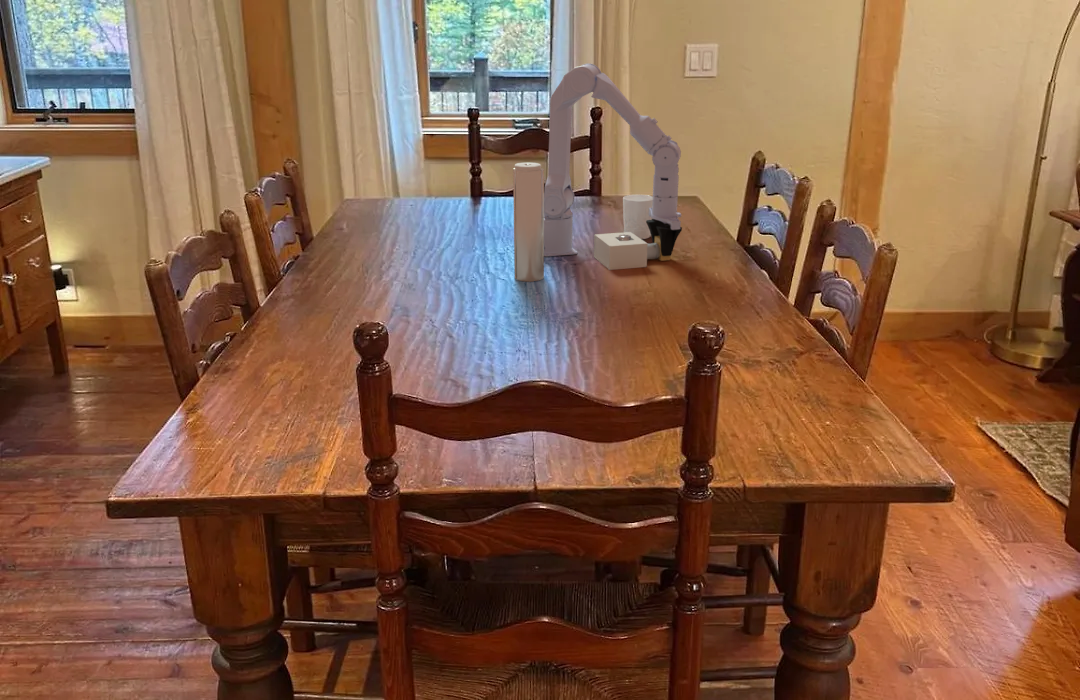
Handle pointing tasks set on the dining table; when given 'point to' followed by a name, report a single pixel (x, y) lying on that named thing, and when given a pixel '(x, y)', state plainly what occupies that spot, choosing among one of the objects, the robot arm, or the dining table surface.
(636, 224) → the white cup
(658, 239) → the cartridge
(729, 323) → the dining table surface
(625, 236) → the plunger
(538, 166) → the white tall cylinder
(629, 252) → the housing
